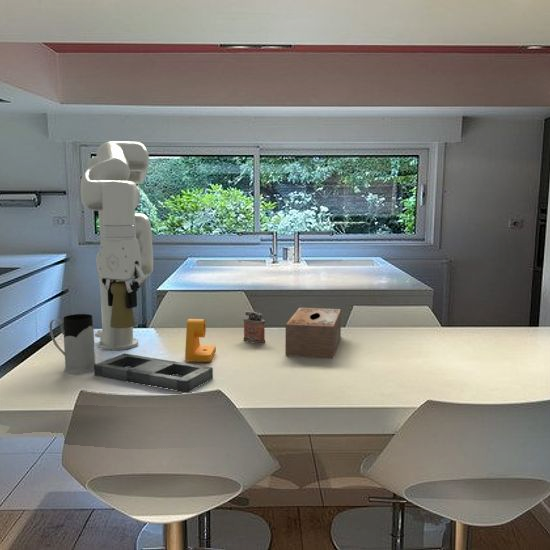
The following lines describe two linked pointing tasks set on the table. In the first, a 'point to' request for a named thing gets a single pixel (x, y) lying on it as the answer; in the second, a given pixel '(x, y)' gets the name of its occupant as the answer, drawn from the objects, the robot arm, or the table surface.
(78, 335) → the grey mug
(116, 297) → the olive tall tapered piece
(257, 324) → the lighter
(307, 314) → the tissue box cover
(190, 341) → the bracket
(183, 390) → the tray
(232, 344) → the table surface
